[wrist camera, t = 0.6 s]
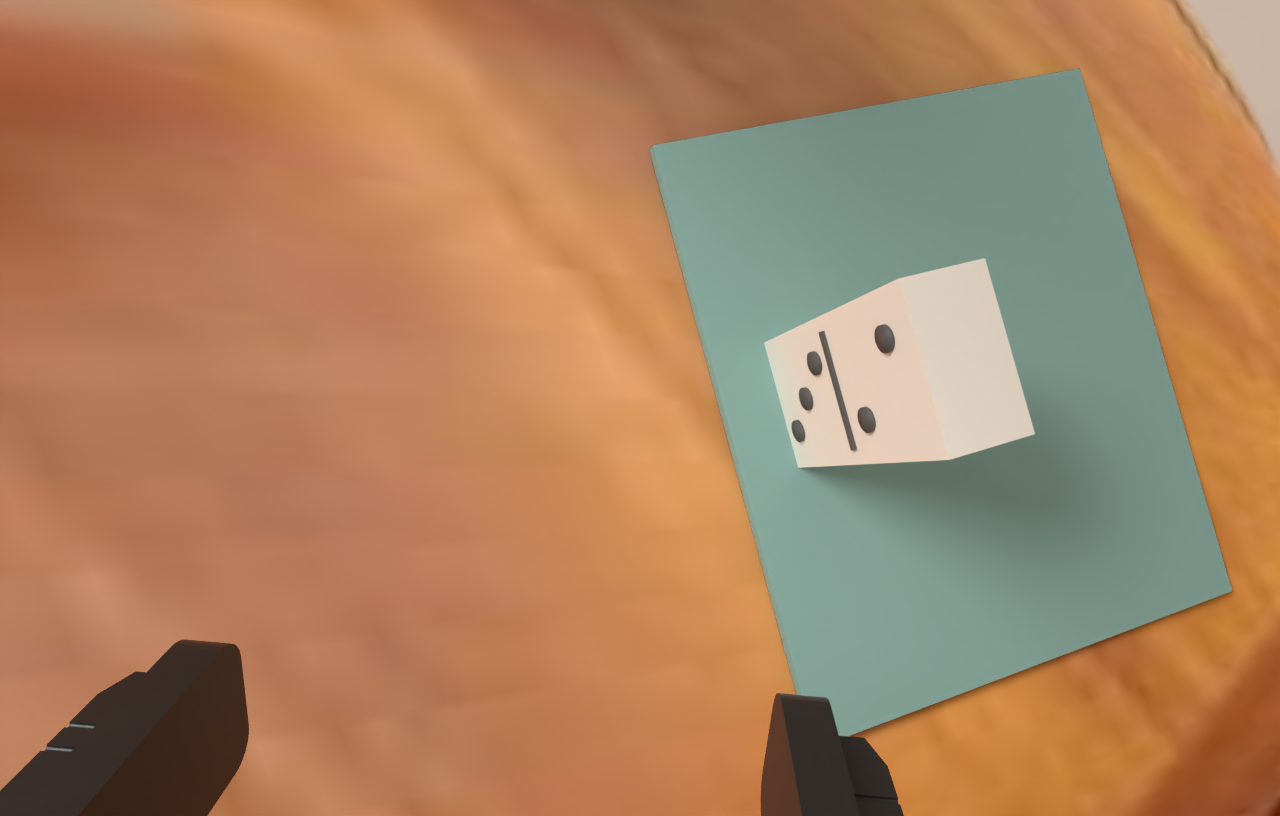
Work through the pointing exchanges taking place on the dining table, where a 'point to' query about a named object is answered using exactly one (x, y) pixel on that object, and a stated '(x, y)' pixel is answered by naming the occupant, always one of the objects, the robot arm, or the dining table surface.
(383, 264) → the dining table surface
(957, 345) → the domino
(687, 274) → the mat
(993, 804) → the dining table surface
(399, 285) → the dining table surface
